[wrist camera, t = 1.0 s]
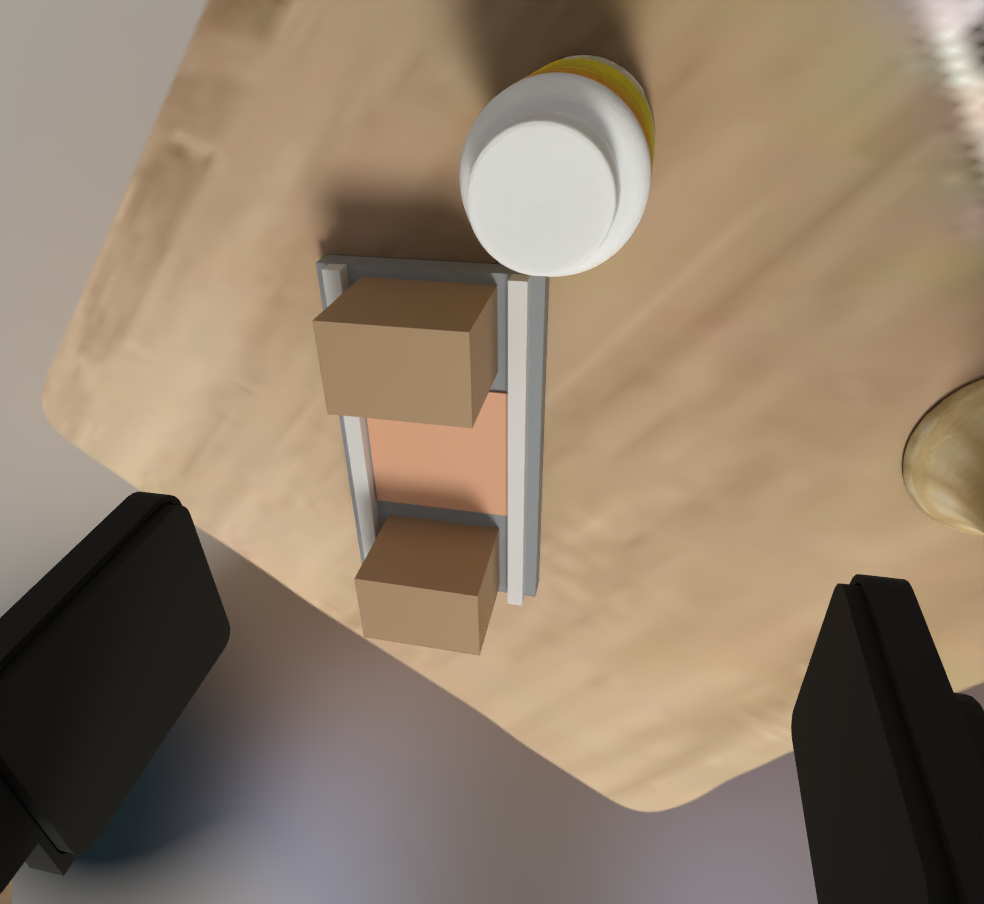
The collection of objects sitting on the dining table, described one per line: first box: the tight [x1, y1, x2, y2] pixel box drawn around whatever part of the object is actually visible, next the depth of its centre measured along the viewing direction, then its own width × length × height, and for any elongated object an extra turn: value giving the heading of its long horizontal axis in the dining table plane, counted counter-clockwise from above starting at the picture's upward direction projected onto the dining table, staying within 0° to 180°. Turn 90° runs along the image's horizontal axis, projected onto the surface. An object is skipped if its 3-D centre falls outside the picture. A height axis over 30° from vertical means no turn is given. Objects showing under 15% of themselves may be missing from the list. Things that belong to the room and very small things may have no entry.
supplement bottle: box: [460, 55, 655, 277], centre depth 22 cm, size 6×6×10 cm
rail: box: [313, 255, 549, 655], centre depth 32 cm, size 18×10×6 cm, turn 1°
